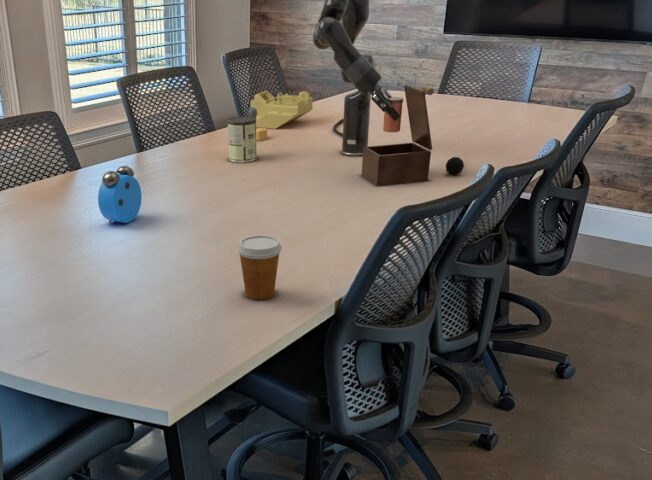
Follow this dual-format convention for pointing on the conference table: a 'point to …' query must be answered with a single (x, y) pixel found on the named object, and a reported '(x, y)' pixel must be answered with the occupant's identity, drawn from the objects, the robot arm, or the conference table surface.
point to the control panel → (280, 108)
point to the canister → (388, 121)
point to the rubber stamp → (260, 132)
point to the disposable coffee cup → (259, 265)
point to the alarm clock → (119, 195)
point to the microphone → (454, 166)
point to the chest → (395, 164)
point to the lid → (418, 114)
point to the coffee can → (242, 139)
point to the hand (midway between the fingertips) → (398, 116)
